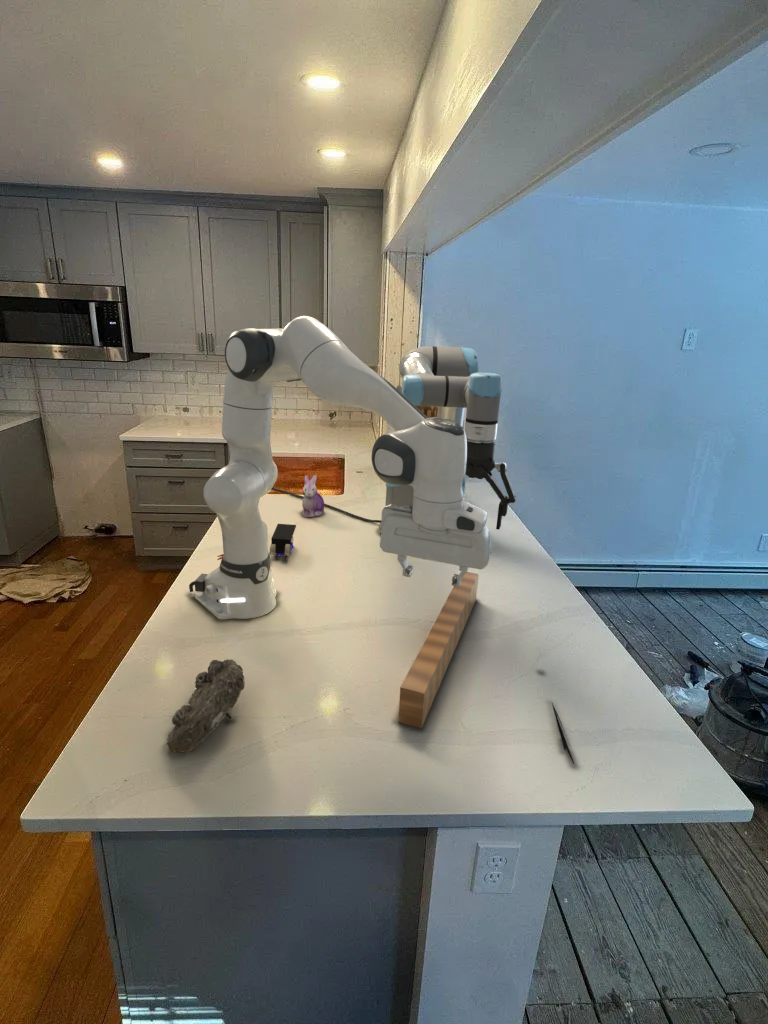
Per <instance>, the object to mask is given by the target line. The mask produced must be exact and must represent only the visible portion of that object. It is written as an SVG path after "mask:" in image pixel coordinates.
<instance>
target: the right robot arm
mask: <svg viewBox="0 0 768 1024" xmlns="http://www.w3.org/2000/svg"><path fill="white" fill-rule="evenodd" d="M398 366H399V367H398V370H399V375H400V377H401V379H402V382H401V387H402V394H403V395H404V396H405V397H406V398H407V399H408V400H409V401H411V402H412V403H413V404H414V405H415V406H438V413H437V417H439V418H444V419H449V420H452V421H455V422H456V423H458V424H459V425H461V426H463V419H464V417H465V421H464V431H465V434H466V439H467V463H466V473H465V477H464V479H463V482H462V490H463V496H464V495H465V490H466V476H467V477H468V478H469V479H478V480H483V479H484V480H486V482H487V483H488V484H489V486H490V487H491V488H492V490H493V492H494V493H495V494H496V496H497V497H498V498H499V500H500V501H499V503H498V508H497V509H498V510H497V518H496V525H495V530H501V526H502V519H503V517H506V516H507V514H508V507H509V504H514V503H515V502H516V500H517V494H516V492H515V489H514V487H513V484H512V480H511V479H510V476H509V473H508V471H507V469H508V465H507V462H506V461H502V462H495V451H496V442H495V440H496V439H497V434H498V433H497V432H498V422H499V414H500V405H501V396H502V392H503V377H502V376H501V375H500V374H498V373H495V372H484V371H483V372H480V369H479V358H478V354H477V351H475V349H473V348H471V347H464V346H440V345H439V346H437V345H436V346H435V345H433V346H432V345H424V346H419V347H416V348H414V349H411V350H410V351H407V353H405V354H404V355H403V357H401V360H400V361H399V365H398ZM465 410H466V412H465ZM465 413H466V415H465ZM494 469H496V470H497V472H498V473H499V474H500V478H501V480H502V483H503V486H504V489H505V491H506V492H505V491H504V489H503V488H502V486H501V485H500V484H499V482H498V481H497V479H496V478H495V475H494V474H493V473H492V471H493V470H494ZM385 487H386V488H385V489H386V490H385V504H384V505H385V506H384V507H386V506H388V505H390V504H397V505H401V506H411V507H413V493H414V488H413V487H412V486H411V485H394V484H388V483H386V482H385ZM271 490H272V491H275V492H279V493H282V494H286V495H290V496H294V497H296V498H298V499H299V498H300V499H302V500H303V498H304V495H300V494H297V493H293V492H291V491H290V492H289V491H287V490H283V489H279V488H275V487H272V489H271ZM271 490H270V491H271ZM324 507H326V508H329V509H331V510H334V511H337V512H340V513H342V514H345V515H348V516H350V517H352V518H354V519H359V520H361V521H364V522H368V523H377V524H378V523H379V526H378V533H379V534H380V535H381V532H382V527H383V523H382V519H369V518H366V517H362V516H360V515H356V514H353V513H351V512H348V511H346V510H343V509H341V508H338V507H336V506H332V505H330V504H327V503H325V502H324ZM388 509H389V508H388Z"/></svg>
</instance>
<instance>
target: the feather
mask: <svg viewBox="0 0 768 1024" xmlns="http://www.w3.org/2000/svg"><path fill="white" fill-rule="evenodd" d="M540 673H542V670H540ZM551 705H552V709H553V713H554V716H555V721H556V725H557V728H558V732H559V737H560V740H561V742H562V745H563V750H564V751H566V752H567V754H568V755H569V757H570V760H571V762H572V764H573V765H574V764H575V762H574V760H573V759H574V758H573V757H572V754H573V755H574V752H572V753H571V751H570V748H571V750H573V748H574V747H572V746H571V747H570V748H569V745H568V743H570V740H569V738H568V734H567V731H566V730H565V727H564V725H563V723H562V721H561V718H560V716H559V714H558V712H557V710H556V707H555V704H554V703H553V702H551ZM565 736H566V737H565ZM567 742H568V743H567Z"/></svg>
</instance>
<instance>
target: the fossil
mask: <svg viewBox="0 0 768 1024" xmlns="http://www.w3.org/2000/svg"><path fill="white" fill-rule="evenodd" d="M243 670H244V669H243V667H242V665H240V664H237V662H236V661H235V660H234V659H232V658H231V659H227V658H226V659H224V660H223V661H222V660H217V659H212V660H211V661H210V663H209V665H208V666H207V671H201V672H199V673H198V674H197V675H196V676H195V680H194V684H195V685H194V687H195V689H194V690H193V693H192V694H191V697H190V698H189V700H188V704H184V705H182V706H181V707H180V709H177V710H176V711H175V713H174V715H173V716H172V718H171V723H172V724H173V727H172V730H171V731H170V732H168V734H167V738H166V741H167V742H166V745H167V749H168V750H169V751H173V752H174V753H176V754H178V753H182V752H188V751H189V752H192V751H193V750H195V748H196V747H197V746H199V744H200V743H201V742H203V741H204V740H205V739H206V738H207V737H208V736H209V735H210V734H211V733H212V732H214V730H215V729H217V727H218V726H219V724H220V722H221V721H222V720H223V719H224V718H225V716H226V717H227V719H229V720H233V717H232V715H230V714H229V710H230V709H231V708H234V706H235V704H236V703H237V702H238V699H239V697H240V695H241V693H242V691H243V690H245V689H244V688H245V675H244V671H243Z"/></svg>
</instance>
